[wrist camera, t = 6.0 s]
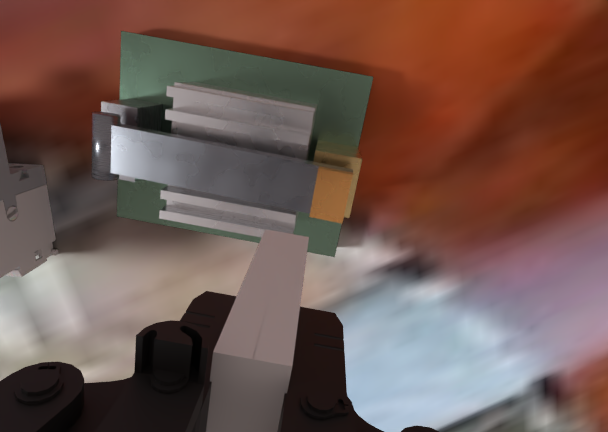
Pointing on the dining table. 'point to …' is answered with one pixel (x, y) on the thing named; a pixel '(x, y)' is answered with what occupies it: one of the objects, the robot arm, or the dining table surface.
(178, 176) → the silver elongated bar
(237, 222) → the circuit board
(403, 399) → the dining table surface
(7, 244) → the circuit breaker
